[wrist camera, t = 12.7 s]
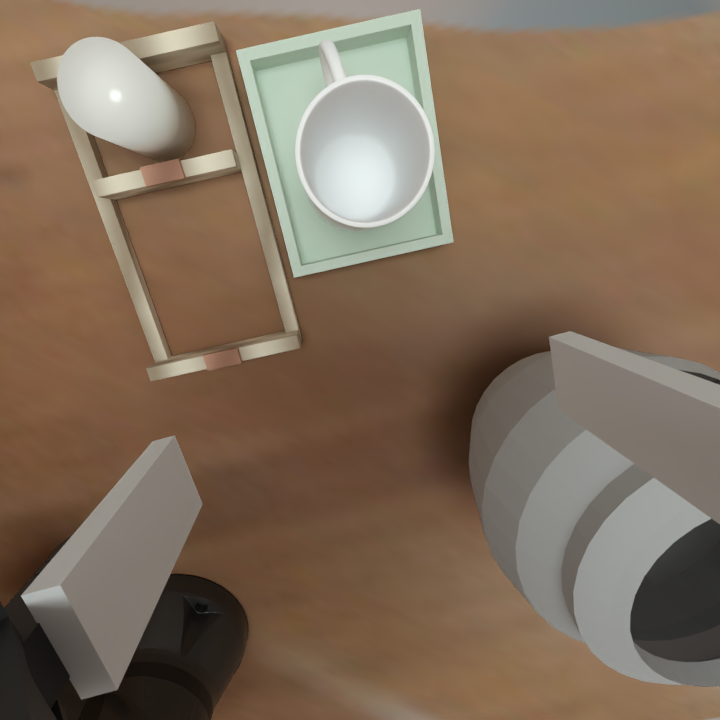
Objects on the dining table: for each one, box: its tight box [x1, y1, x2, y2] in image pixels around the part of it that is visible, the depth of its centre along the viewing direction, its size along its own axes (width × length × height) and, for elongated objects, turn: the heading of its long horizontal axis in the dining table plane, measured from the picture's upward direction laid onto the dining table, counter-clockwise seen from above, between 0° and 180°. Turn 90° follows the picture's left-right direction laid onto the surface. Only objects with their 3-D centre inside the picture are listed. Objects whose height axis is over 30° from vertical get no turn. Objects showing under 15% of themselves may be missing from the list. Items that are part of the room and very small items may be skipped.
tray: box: [236, 9, 453, 278], centre depth 35 cm, size 14×17×3 cm
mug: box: [295, 39, 435, 232], centre depth 30 cm, size 12×8×12 cm
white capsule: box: [57, 37, 196, 161], centre depth 31 cm, size 6×6×9 cm
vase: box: [469, 348, 720, 687], centre depth 32 cm, size 20×20×24 cm
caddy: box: [30, 21, 302, 381], centre depth 36 cm, size 13×25×3 cm, turn 12°
